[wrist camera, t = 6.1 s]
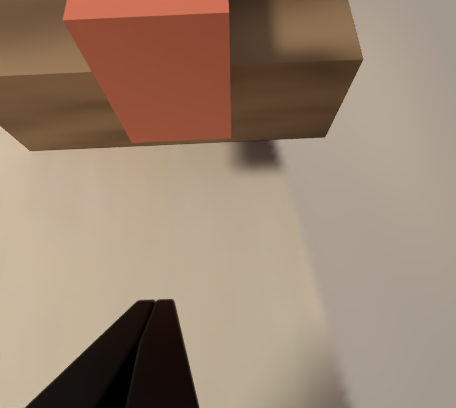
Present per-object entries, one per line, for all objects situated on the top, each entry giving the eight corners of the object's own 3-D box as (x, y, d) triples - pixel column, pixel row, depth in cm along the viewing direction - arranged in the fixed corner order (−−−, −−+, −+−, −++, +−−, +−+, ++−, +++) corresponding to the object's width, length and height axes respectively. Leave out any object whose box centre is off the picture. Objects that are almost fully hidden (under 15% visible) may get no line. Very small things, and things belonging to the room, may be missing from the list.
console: (324, 137, 19) (386, 11, 11) (29, 150, 19) (-109, 34, 11) (307, 39, 22) (347, -114, 14) (51, 51, 22) (-48, -96, 14)
